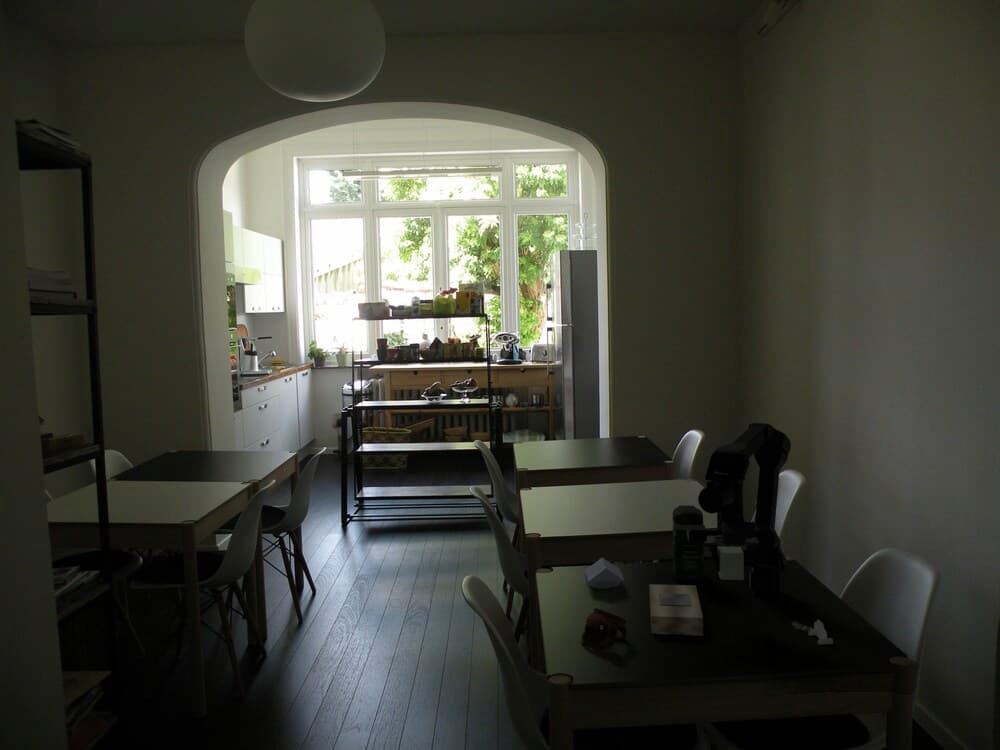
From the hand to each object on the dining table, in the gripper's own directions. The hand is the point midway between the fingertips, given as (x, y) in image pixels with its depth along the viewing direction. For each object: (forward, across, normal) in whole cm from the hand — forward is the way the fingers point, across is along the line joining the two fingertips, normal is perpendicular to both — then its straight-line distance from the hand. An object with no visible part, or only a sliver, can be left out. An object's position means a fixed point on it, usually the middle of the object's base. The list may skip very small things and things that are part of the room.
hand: (730, 571), depth 180 cm
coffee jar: (+11, -7, +28) cm, 31 cm away
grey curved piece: (+12, +16, -6) cm, 21 cm away
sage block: (+1, 0, 0) cm, 1 cm away
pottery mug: (+12, -28, -16) cm, 34 cm away
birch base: (+11, -12, 0) cm, 17 cm away
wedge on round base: (+11, -29, +20) cm, 37 cm away
